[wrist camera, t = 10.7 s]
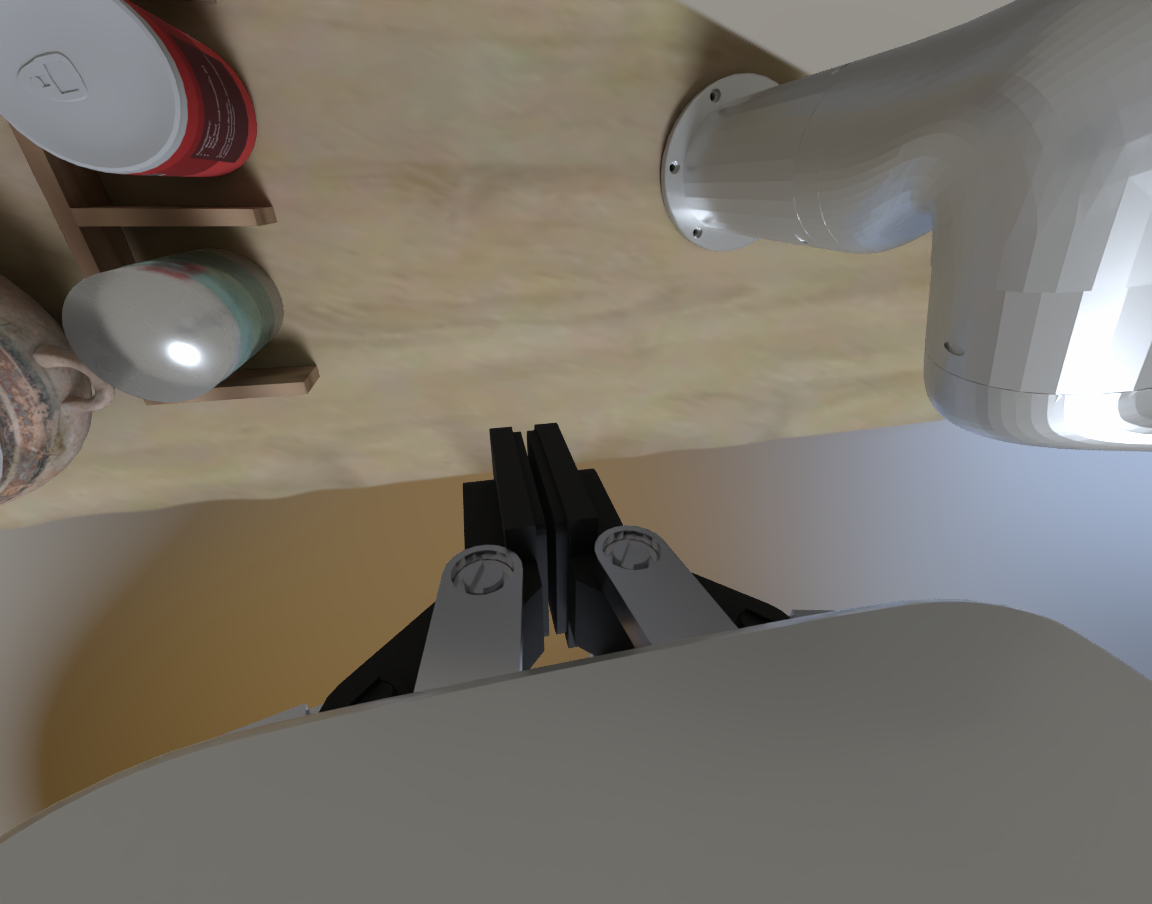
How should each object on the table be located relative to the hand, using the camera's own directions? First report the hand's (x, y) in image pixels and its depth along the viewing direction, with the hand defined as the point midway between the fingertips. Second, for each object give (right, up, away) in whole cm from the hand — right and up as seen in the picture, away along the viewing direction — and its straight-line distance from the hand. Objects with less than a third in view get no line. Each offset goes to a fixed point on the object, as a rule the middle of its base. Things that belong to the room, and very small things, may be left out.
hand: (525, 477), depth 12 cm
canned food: (-24, +23, +19) cm, 38 cm away
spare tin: (-26, +12, +24) cm, 37 cm away
